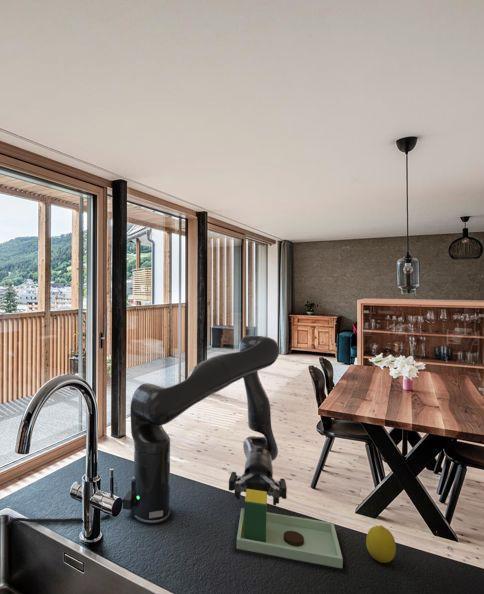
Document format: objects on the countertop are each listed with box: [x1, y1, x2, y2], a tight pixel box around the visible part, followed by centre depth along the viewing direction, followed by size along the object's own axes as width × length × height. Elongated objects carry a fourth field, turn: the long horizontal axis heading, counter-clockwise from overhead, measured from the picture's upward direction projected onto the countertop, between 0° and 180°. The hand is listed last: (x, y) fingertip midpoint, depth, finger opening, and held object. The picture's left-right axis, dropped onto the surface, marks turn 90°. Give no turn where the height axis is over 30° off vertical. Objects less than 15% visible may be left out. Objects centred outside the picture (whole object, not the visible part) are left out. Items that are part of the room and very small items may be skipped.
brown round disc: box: [284, 531, 304, 546], centre depth 94 cm, size 4×4×1 cm
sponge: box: [244, 489, 268, 543], centre depth 96 cm, size 5×7×9 cm
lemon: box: [365, 525, 397, 564], centre depth 88 cm, size 6×6×8 cm
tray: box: [236, 507, 344, 569], centre depth 95 cm, size 22×14×3 cm, turn 73°
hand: (256, 498), depth 99 cm, fingers open, 8 cm apart
